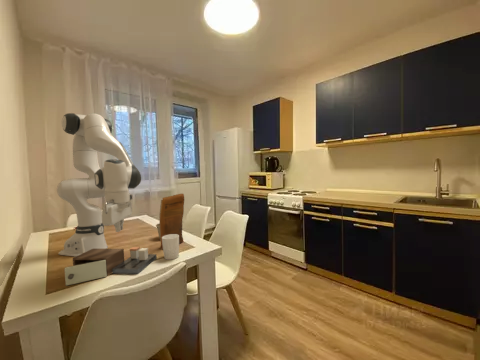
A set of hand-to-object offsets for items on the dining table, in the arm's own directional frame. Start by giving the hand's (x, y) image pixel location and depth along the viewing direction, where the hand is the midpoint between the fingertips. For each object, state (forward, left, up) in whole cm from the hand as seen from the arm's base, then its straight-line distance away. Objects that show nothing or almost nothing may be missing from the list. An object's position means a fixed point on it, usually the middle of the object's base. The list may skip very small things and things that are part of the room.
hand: (119, 230), depth 95 cm
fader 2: (+6, +6, -15) cm, 17 cm away
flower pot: (-1, +43, -17) cm, 46 cm away
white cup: (+16, +14, -17) cm, 27 cm away
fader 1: (+1, +8, -15) cm, 17 cm away
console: (+4, +4, -17) cm, 18 cm away
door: (-7, -10, -16) cm, 21 cm away
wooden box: (-10, 0, -17) cm, 20 cm away
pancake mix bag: (+10, +31, -17) cm, 37 cm away
